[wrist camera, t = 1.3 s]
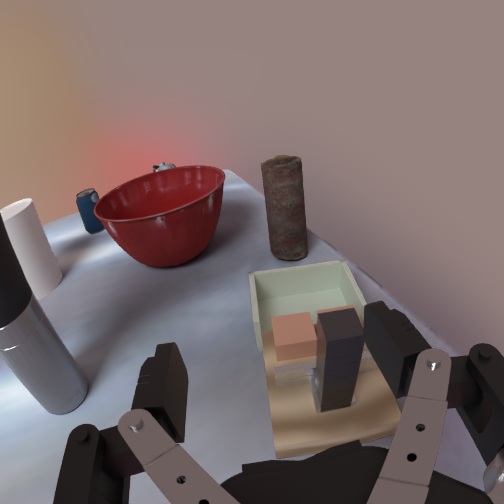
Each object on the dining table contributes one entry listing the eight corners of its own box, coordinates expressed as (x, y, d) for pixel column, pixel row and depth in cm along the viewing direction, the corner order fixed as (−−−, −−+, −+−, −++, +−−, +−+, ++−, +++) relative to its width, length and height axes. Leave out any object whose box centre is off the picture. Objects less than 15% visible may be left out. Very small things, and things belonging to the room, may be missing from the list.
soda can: (112, 224, 90) (100, 187, 83) (95, 236, 85) (82, 197, 78) (98, 222, 93) (87, 187, 86) (82, 233, 88) (70, 197, 81)
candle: (282, 269, 61) (273, 167, 51) (263, 252, 67) (252, 158, 57) (314, 255, 64) (311, 157, 53) (294, 240, 70) (288, 149, 59)
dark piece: (386, 397, 31) (411, 324, 25) (280, 419, 31) (273, 349, 25) (373, 364, 36) (389, 287, 29) (275, 381, 36) (267, 307, 29)
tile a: (316, 355, 38) (317, 339, 37) (276, 361, 38) (275, 346, 37) (309, 327, 43) (309, 311, 41) (272, 333, 43) (270, 317, 41)
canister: (9, 298, 63) (-25, 228, 52) (40, 267, 74) (13, 200, 63) (39, 305, 59) (0, 226, 49) (72, 270, 70) (42, 196, 60)
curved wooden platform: (394, 434, 31) (403, 419, 28) (276, 458, 31) (274, 446, 29) (357, 335, 45) (360, 316, 43) (263, 350, 45) (261, 332, 43)
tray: (362, 334, 45) (367, 304, 42) (258, 351, 45) (253, 322, 42) (342, 288, 55) (344, 259, 51) (252, 301, 55) (248, 272, 51)
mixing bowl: (92, 276, 67) (68, 215, 59) (162, 217, 89) (149, 165, 80) (193, 302, 56) (172, 224, 48) (255, 225, 78) (247, 163, 70)
